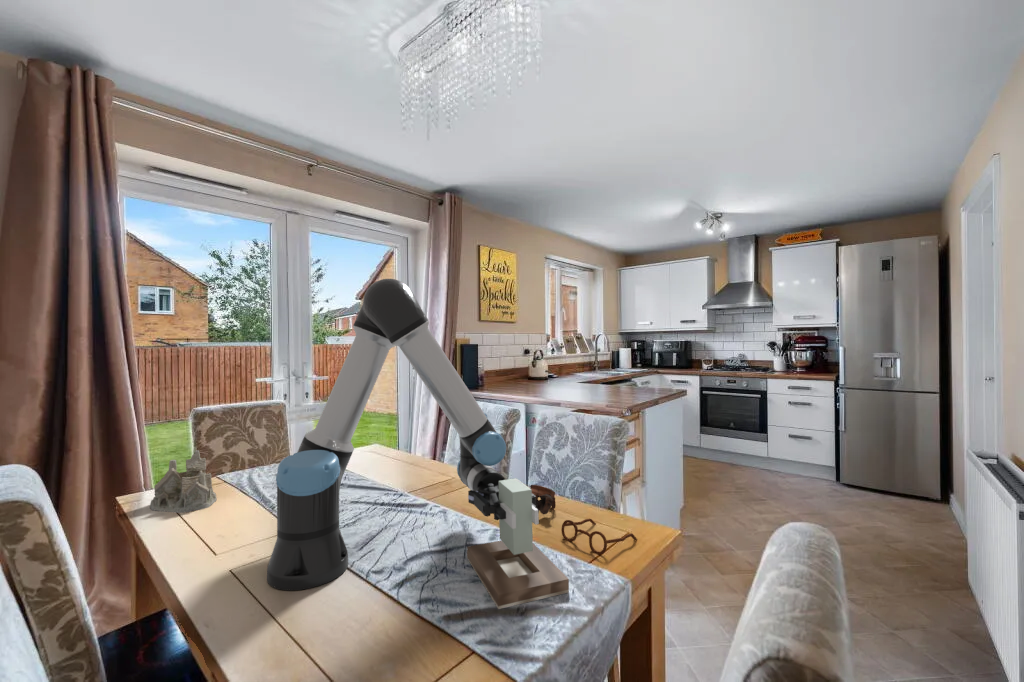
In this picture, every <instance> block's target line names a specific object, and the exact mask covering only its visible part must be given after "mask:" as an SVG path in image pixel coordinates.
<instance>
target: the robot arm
mask: <svg viewBox="0 0 1024 682" xmlns="http://www.w3.org/2000/svg"><path fill="white" fill-rule="evenodd" d="M429 324H430V320H429V319H428V317H427V316H426V314H425V313H424V311H423V309H422V307H421V305H420V303H419V302H418V300H417V298H416V296H415V294H414V292H413V291H412V290H411V288H410V287H409V285H407V284H406V283H404V282H402V281H401V280H398V279H395V278H382V279H380V280H377V281H375V282H374V283H372V284H371V285H370V286H368V288H367V289H366V291H365V293H364V296H363V300H362V305H361V307H360V309H359V311H358V314H357V316H356V318H355V321H354V323H353V325H352V328H353V331H354V332H355V333H354V334H355V336H354V339H353V341H352V343H351V346H350V348H349V351H348V353H347V355H346V357H345V360H344V362H343V364H342V367H341V369H340V371H339V374H338V375H337V378H336V380H335V382H334V385H333V387H332V389H331V392H330V394H329V396H328V399H327V401H326V403H325V406H324V408H323V410H322V412H321V414H320V417H319V418H318V421H317V423H316V426H315V428H314V429H312V430H310V431H308V432H306V433H305V434H304V436H303V439H302V440H301V443H300V445H299V447H298V450H297V452H295V453H293V454H291V455H287V456H286V457H284V458H283V459H282V460H281V461H280V463H279V464H278V466H277V473H276V476H275V481H276V515H277V516H276V517H277V518H276V530H277V531H276V541H275V544H274V547H273V549H272V552H271V555H270V559H269V561H268V564H267V567H266V583H268V585H269V586H270V587H272V588H273V589H277V590H282V591H302V590H307V589H311V588H316V587H318V586H321V585H325V584H327V583H329V582H332V581H333V580H335V579H336V578H339V577H340V576H341V575H342V574H343V573H344V572H345V571H346V570H347V568H348V567H349V553H348V552H349V551H348V548H347V547H346V543H345V540H344V537H343V535H342V532H341V529H340V491H341V489H340V488H341V484H342V479H343V476H344V473H345V471H346V470H347V466H348V465H349V462H350V460H351V458H352V455H353V453H354V451H355V447H354V445H353V443H352V438H353V437H354V434H355V431H356V430H357V427H358V424H359V422H360V420H361V418H362V415H363V412H364V410H365V408H366V405H367V403H368V402H369V399H370V396H371V393H372V392H373V389H374V387H375V385H376V382H377V380H378V378H379V375H380V374H381V371H382V370H383V369H382V368H383V366H384V363H385V361H386V359H387V356H388V354H389V352H390V350H391V349H392V348H394V347H399V349H400V350H401V352H402V353H403V354H404V356H405V357H406V359H407V360H408V362H409V363H410V364H411V365H410V366H412V367H413V370H414V371H415V372H416V374H417V375H418V377H419V378H420V379H421V381H422V383H423V384H424V385H425V387H426V388H427V389H428V391H429V393H430V394H431V395H432V397H433V399H434V401H435V402H436V403H437V404H438V406H439V407H440V409H441V410H442V412H443V414H444V415H445V416H446V417H447V419H448V421H449V422H450V424H451V425H452V427H453V428H454V429H455V431H456V433H457V434H458V435H459V437H458V438H459V452H460V453H459V454H460V455H459V461H458V463H457V465H456V466H457V467H456V473H457V475H458V478H459V479H460V481H461V483H463V485H465V486H466V487H467V488H468V489H469V490H468V491H467V492H468V495H467V497H468V503H469V504H471V505H474V507H475V508H477V510H479V512H480V513H481V514H482V515H483V516H484V517H491V515H493V520H495V521H499V519H501V520H502V519H503V520H504V521H505V522H506V523H507V524H508V525H509V526H510V527H511V528H512V529H514V528H516V514H515V513H514V512H513V511H512V510H511V509H510V508H509V507H508V506H507V505H506V504H505V503H499V481H501V480H506V478H505V477H504V475H502V473H499V472H498V471H497V470H496V469H495V468H494V467H493V466H495V465H498V464H500V463H501V461H502V460H503V459H504V458H505V456H506V452H507V444H506V441H505V440H504V437H503V436H502V435H501V434H500V433H498V432H497V431H496V429H495V427H494V426H493V424H492V423H491V422H490V420H489V419H488V414H487V413H485V412H484V411H483V409H482V408H481V406H480V405H479V403H478V402H477V400H476V399H475V397H474V396H473V394H472V392H471V391H470V389H469V388H468V386H467V385H466V384H465V382H464V381H463V379H462V377H461V376H460V374H459V372H458V371H457V370H456V368H455V367H454V365H453V364H452V362H451V361H450V359H449V358H448V356H447V355H446V353H445V352H444V350H443V349H442V346H440V344H439V342H438V341H437V339H436V338H435V336H434V335H433V333H432V331H431V330H430V328H429ZM539 521H540V520H539V513H538V509H537V508H536V496H535V495H534V494H532V524H533V525H539V523H540V522H539Z"/></svg>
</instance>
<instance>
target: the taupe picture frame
mask: <svg viewBox="0 0 1024 682" xmlns="http://www.w3.org/2000/svg"><path fill="white" fill-rule="evenodd" d="M466 558H467V560H468V562H469V564H470V565H471V567H472V568H473V570H474V572H475V573H476V575H477V576H478V578H479V580H480V581H481V583H482V585H483V586H484V588H485V590H486V591H487V593H488V595H489V596H490V598H491V600H492V601H493V603H494V605H495V606H496V608H497V610H501V609H504V608H509V607H513V606H517V605H521V604H526V603H530V602H535V601H538V600H542V599H547V598H551V597H555V596H560V595H565V594H568V593H569V592H570V587H569V586H570V579H569V577H567V575H566V574H565V573H563V571H562V570H561V569H560V568H559V567H557V565H555V564H554V562H552V560H551V559H550V558H549V557H548V556H547V555H546V554H545V553H544V552H543V551H541V549H540V548H538V546H537V545H536V544H535V543H534V542H533V551H530V552H526V553H521V554H516V555H513V553H512V552H511V551H510V550H509V549H508V547H507V546H506V545H505V544H504V543H503V542H502V540H501V539H500V540H498V541H497V540H496V541H491V542H486V543H485V542H484V543H480V544H475V545H468V546H466Z"/></svg>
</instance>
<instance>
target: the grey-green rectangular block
mask: <svg viewBox="0 0 1024 682" xmlns="http://www.w3.org/2000/svg"><path fill="white" fill-rule="evenodd" d="M499 503H505V504H506V505H507V506H508V507H509V508H510V509H511V510H512V511H513V512H514V513H515V514H516V528H514V529H512V528H511V527H510V526H509V525H508V524H507V523H506V522H505V521H504V520H503V519H502V520H501V519H499V520H498V525H499V539H500V541H501V540H502V542H503V543H504V544H505V545H506V546H507V547H508V549H509V550H510V551H511V552H512V553H513V555H516V554H521V553H526V552H530V551H533V543H534V542H533V541H534V540H533V538H534V535H533V522H532V490H531V489H530V486H527V485H526V484H525V483H523V482H522V481H521V480H519V479H518V478H510V479H508V478H507V479H505V480H501V481H499Z"/></svg>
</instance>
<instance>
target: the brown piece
mask: <svg viewBox="0 0 1024 682" xmlns="http://www.w3.org/2000/svg"><path fill="white" fill-rule="evenodd" d="M529 488H530V489H531V490H532V494H534V495H535V496H536V508H537V509H538V514H539V513H541V514H542V515H547V514H548V513H549V511H550V509H552V510H554V509H555V508H556V506H557V505H556V497H555V495H556V492H555V490H553V489H551V488H549V487H546V486H543V485H538V484H531V485H530V486H529ZM539 498H540V499H539Z"/></svg>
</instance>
